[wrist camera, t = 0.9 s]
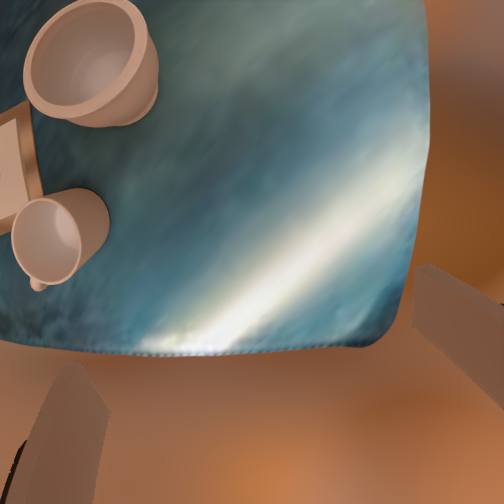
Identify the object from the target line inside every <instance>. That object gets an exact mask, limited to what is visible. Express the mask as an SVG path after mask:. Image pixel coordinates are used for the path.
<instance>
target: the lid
mask: <svg viewBox="0 0 504 504" xmlns="http://www.w3.org/2000/svg"><path fill="white" fill-rule="evenodd" d="M30 200H31V195H30V191H29V186H28V181H27V176H26V170H25V164H24V158H23V151H22V144H21V136H20V127H19V118H15V119H13V120H11V121H9V122H7V123H5V124H4V125H2V126H0V220H1V219H3V218H6V217H8V216H10V215H13V214H15V213H18V211H19V210H20V209H21V207H22V206H23V205H25V204H26V203H27V202H29V201H30Z"/></svg>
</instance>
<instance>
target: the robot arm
mask: <svg viewBox="0 0 504 504" xmlns="http://www.w3.org/2000/svg"><path fill="white" fill-rule="evenodd" d="M412 326H413V327H414V328H415V329H416V330H417V331H418V332H419V333H421V334H422V335H423V336H424V337H425V338H426V339H427V340H429V341H430V342H431V343H432V344H433V345H434V346H435V347H436V348H438V349H439V350H440V351H441V352H442V353H443V354H444V355H445V356H447V357H448V358H449V359H450V360H451V361H452V362H453V363H454V364H455V365H456V366H458V367H459V368H460V369H461V370H462V371H463V372H464V373H465V374H466V375H467V376H469V378H471V379H472V380H473V381H474V382H475V383H476V384H477V385H478V386H479V387H480V388H481V389H482V390H483V391H485V393H486V394H488V395H489V396H490V397H491V398H492V399H493V400H494V401H495V402H496V403H497V404H498V405H499V406H500V407H501V408H502V409H503V410H504V304H499V303H498V302H496V301H494V300H493V299H491V298H490V297H488V296H486V295H484V294H483V293H481V292H479V291H478V290H476V289H474V288H472V287H471V286H469V285H467V284H466V283H464V282H462V281H460V280H459V279H456V278H455V277H453V276H451V275H450V274H448V273H446V272H444V271H442V270H441V269H439V268H437V267H435V266H433V265H431V264H429V263H426V264H423V265H421V266H418V267H416V268H414V294H413V314H412ZM110 413H111V410H110V409H109V408H108V406H107V404H106V403H105V402H104V400H103V399H102V397H101V396H100V394H99V393H98V391H97V390H96V388H95V387H94V385H93V384H92V382H91V380H90V379H89V377H88V376H87V374H86V373H85V371H84V370H83V368H82V366H81V364H80V363H79V361H74V362H67V363H63V365H62V367H61V369H60V371H59V372H58V374H57V376H56V378H55V380H54V382H53V384H52V386H51V388H50V390H49V392H48V395H47V397H46V399H45V401H44V403H43V405H42V407H41V410H40V412H39V414H38V416H37V418H36V421H35V423H34V425H33V428H32V430H31V432H30V435H29V437H28V439H27V440H26V441H25V442H24V443H23V444H22V446H21V447H20V448H19V449H18V451H17V454H16V457H15V459H14V464H13V465H12V467H11V470H10V471H11V473H9V475H8V478H7V481H6V484H5V487H4V490H3V493H2V497H1V500H0V504H93V499H94V492H95V486H96V480H97V474H98V469H99V464H100V459H101V454H102V449H103V444H104V439H105V435H106V430H107V426H108V422H109V417H110Z"/></svg>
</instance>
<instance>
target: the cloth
mask: <svg viewBox="0 0 504 504" xmlns="http://www.w3.org/2000/svg"><path fill="white" fill-rule="evenodd" d="M15 118H19V127H20V136H21V144H22V151H23V158H24V164H25V170H26V176H27V181H28V186H29V191H30V195H31V200H33V199H35V198H39V197H43V196H45V195H44V190H43V185H42V181H41V176H40V170H39V165H38V159H37V153H36V146H35V139H34V131H33V122H32V112H31V102H30V100H29V99H28V100H26V101H24V102H22V103H20V104H18V105H16V106H15V107H13V108H11V109H9V110H7V111H6V112H4V113H2V114H1V115H0V126H2V125H4V124H5V123H7V122H9V121H11V120H13V119H15ZM16 215H17V213H15V214H13V215H10V216H8V217H6V218H3V219H1V220H0V235H2V234H5V233H7V232H10V231H12V226H13V222H14V219H15V217H16Z"/></svg>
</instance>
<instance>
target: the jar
mask: <svg viewBox="0 0 504 504" xmlns="http://www.w3.org/2000/svg"><path fill="white" fill-rule="evenodd" d="M158 72H159V63H158V56H157V51H156V48H155V45H154V43H153V41H152V39H151V37H150V35H149V34H148V29H147V25H146V22H145V20H144V17H143V15H142V14H141V12H140V11H139V9H138V8H137V7H136V6H135V5H134V4H132V3H131V2H129V1H128V0H78V1H76V2H74V3H72V4H70V5H68V6H66V7H65V8H63V9H62V10H60V11H59V12H58V13H56V14H55V15H54V16H53V17H52V18H51V19H49V20H48V21H47V23H46V24H45V25H44V26H43V27H42V28H41V30H40V31H39V32H38V34H37V35H36V37H35V38H34V40H33V42H32V44H31V46H30V48H29V50H28V53H27V56H26V59H25V64H24V70H23V81H24V88H25V91H26V94H27V96H28V98H29V100H30V102H31V103H32V104H33V106H34V107H35V108H36V109H37V110H39V111H40V112H42V113H43V114H45V115H48V116H51V117H54V118H60V119H66V120H68V121H70V122H73V123H75V124H78V125H82V126H86V127H108V126H125V125H129V124H132V123H134V122H136V121H138V120H140V119H141V118H143V117H144V116H145V115H146V114H147V113H148V112H149V111H150V109H151V108H152V106H153V105H154V103H155V100H156V98H157V94H158Z"/></svg>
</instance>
